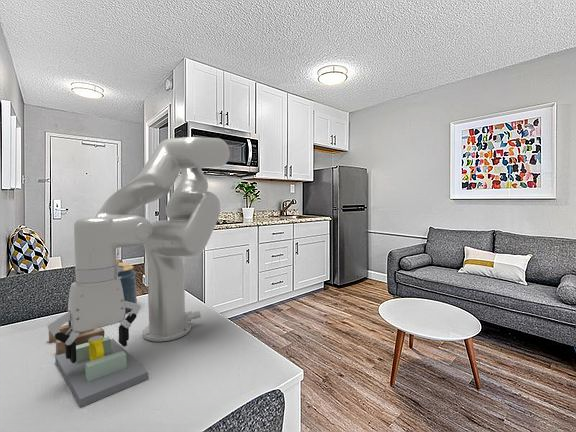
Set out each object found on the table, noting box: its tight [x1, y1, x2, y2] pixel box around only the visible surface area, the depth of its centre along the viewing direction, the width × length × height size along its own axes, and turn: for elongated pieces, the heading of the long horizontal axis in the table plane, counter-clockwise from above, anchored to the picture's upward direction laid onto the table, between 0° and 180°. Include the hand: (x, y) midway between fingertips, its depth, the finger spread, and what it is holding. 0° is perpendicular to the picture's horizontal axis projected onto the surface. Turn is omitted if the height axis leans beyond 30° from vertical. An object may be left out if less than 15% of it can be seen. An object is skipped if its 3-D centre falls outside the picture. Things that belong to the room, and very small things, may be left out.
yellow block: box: [88, 336, 104, 361], centre depth 66 cm, size 6×3×6 cm, turn 47°
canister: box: [116, 257, 138, 314], centre depth 103 cm, size 13×13×18 cm
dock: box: [54, 336, 149, 408], centre depth 66 cm, size 12×22×4 cm, turn 47°
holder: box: [48, 324, 105, 356], centre depth 80 cm, size 10×11×3 cm
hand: (99, 351), depth 66 cm, fingers open, 9 cm apart
